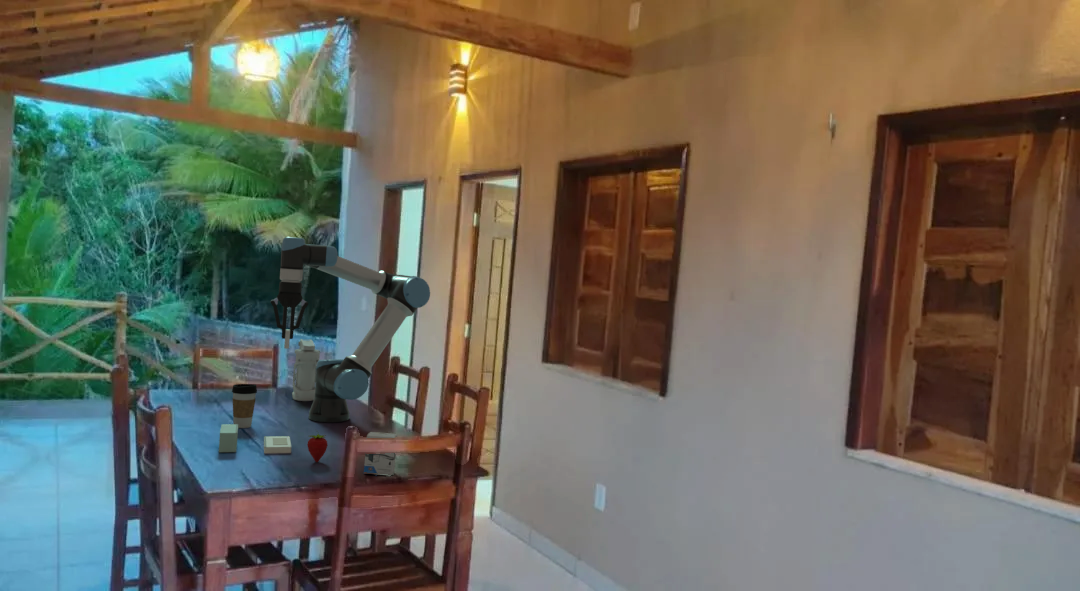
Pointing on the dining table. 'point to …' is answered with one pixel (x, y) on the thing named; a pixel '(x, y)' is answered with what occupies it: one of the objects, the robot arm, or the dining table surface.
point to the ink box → (380, 458)
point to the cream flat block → (277, 444)
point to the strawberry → (317, 446)
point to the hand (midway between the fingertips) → (286, 348)
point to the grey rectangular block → (228, 438)
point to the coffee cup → (243, 404)
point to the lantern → (305, 371)
